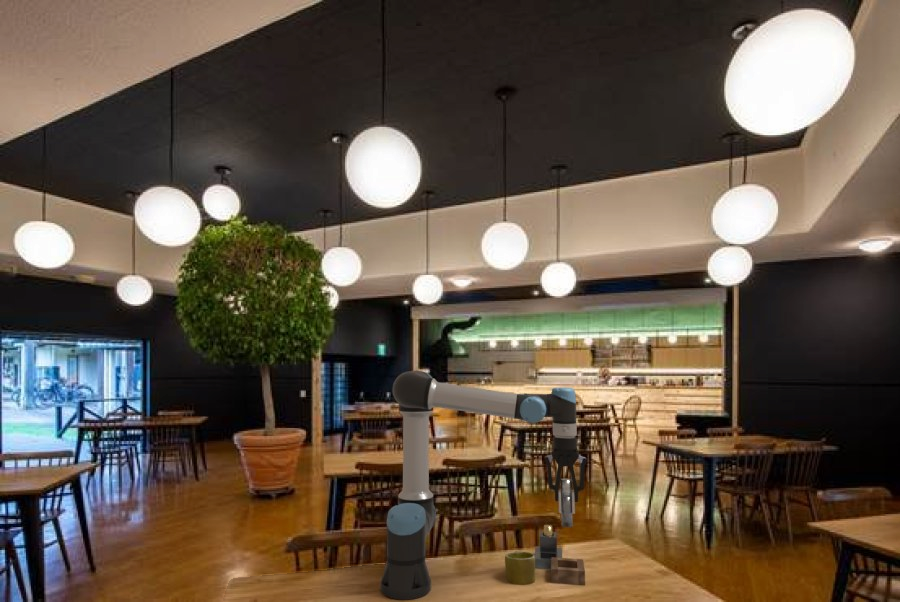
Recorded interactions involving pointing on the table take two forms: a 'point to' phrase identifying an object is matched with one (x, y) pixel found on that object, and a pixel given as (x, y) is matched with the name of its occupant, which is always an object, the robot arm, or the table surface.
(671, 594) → the table surface
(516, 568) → the mug
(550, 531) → the yellow capsule
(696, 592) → the table surface
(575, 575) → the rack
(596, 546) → the table surface
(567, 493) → the brushed metal rod
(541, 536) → the block
